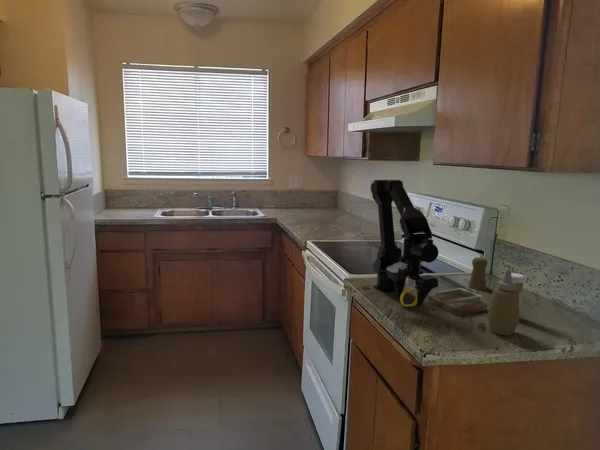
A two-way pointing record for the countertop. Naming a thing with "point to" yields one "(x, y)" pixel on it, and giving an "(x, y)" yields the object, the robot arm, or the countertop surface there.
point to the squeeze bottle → (504, 307)
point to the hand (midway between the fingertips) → (409, 301)
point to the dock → (458, 301)
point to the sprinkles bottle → (518, 285)
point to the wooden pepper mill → (478, 274)
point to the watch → (408, 289)
